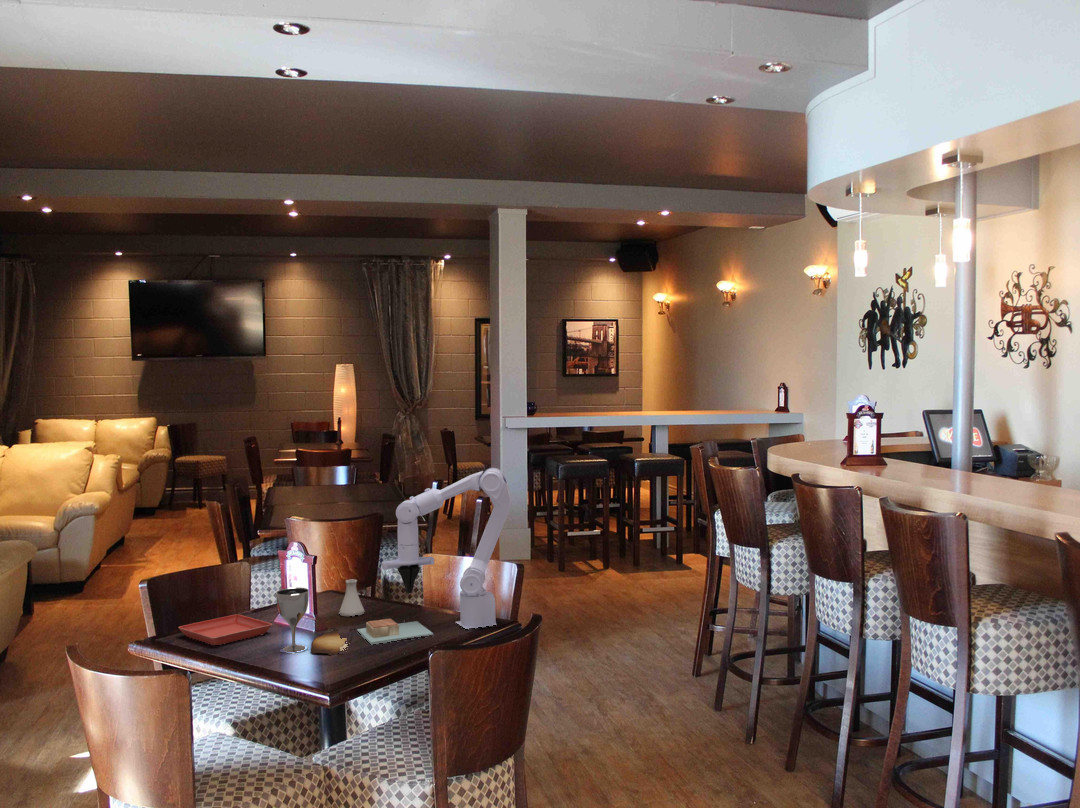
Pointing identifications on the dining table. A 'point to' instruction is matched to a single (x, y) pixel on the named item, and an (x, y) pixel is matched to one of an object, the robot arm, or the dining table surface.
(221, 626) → the plant saucer
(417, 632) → the mat
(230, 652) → the dining table surface
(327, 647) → the parchment
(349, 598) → the flask
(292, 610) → the wine glass
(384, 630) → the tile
